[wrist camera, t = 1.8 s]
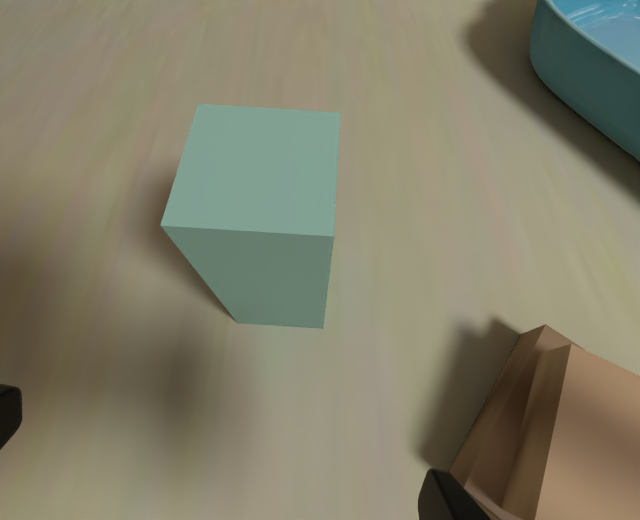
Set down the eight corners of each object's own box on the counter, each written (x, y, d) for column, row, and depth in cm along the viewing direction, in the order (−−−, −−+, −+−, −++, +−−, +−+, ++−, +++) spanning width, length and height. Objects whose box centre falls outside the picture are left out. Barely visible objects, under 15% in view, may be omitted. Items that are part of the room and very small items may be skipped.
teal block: (322, 328, 21) (333, 236, 10) (237, 322, 21) (160, 225, 10) (327, 252, 24) (340, 112, 13) (250, 247, 24) (198, 103, 13)
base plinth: (634, 638, 15) (689, 676, 13) (444, 479, 18) (463, 487, 16) (686, 444, 19) (737, 448, 17) (521, 334, 21) (545, 324, 19)
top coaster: (690, 620, 14) (764, 660, 12) (501, 508, 15) (534, 524, 13) (697, 429, 17) (756, 431, 15) (539, 352, 18) (571, 343, 16)
